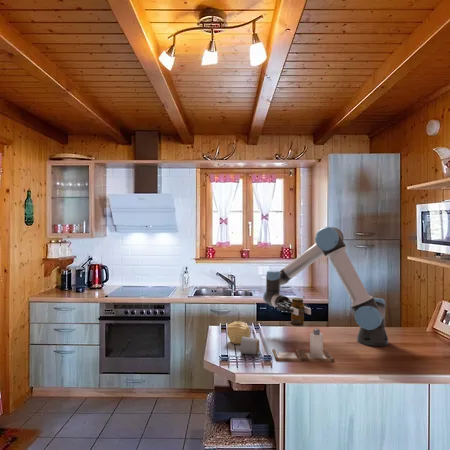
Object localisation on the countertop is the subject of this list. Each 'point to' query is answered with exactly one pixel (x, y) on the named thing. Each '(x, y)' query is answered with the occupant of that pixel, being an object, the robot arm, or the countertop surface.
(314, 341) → the white bottle
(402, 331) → the countertop surface
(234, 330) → the sculpture
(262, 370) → the countertop surface
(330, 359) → the walnut tray
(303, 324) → the condiment
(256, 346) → the ceramic mug
